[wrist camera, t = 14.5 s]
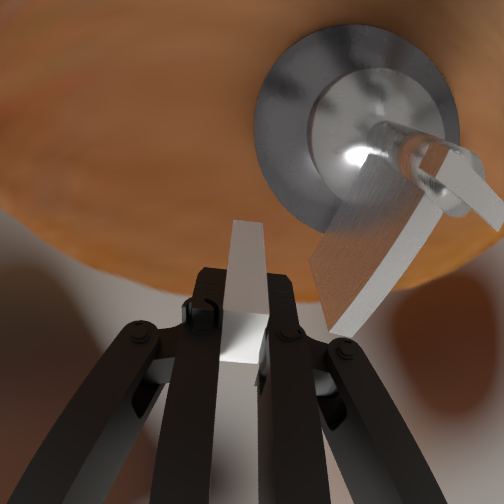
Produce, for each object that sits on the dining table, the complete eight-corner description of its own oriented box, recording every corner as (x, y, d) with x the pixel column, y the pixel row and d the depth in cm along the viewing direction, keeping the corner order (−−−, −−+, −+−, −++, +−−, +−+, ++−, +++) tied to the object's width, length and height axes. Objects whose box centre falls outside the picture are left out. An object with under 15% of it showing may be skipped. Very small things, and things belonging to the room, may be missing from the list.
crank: (341, 43, 14) (439, 7, 5) (447, 117, 16) (558, 161, 7) (254, 228, 21) (257, 348, 12) (361, 268, 23) (410, 374, 14)
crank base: (306, -6, 14) (325, -36, 9) (470, 105, 17) (514, 117, 12) (220, 184, 22) (210, 216, 17) (389, 253, 25) (415, 292, 20)
